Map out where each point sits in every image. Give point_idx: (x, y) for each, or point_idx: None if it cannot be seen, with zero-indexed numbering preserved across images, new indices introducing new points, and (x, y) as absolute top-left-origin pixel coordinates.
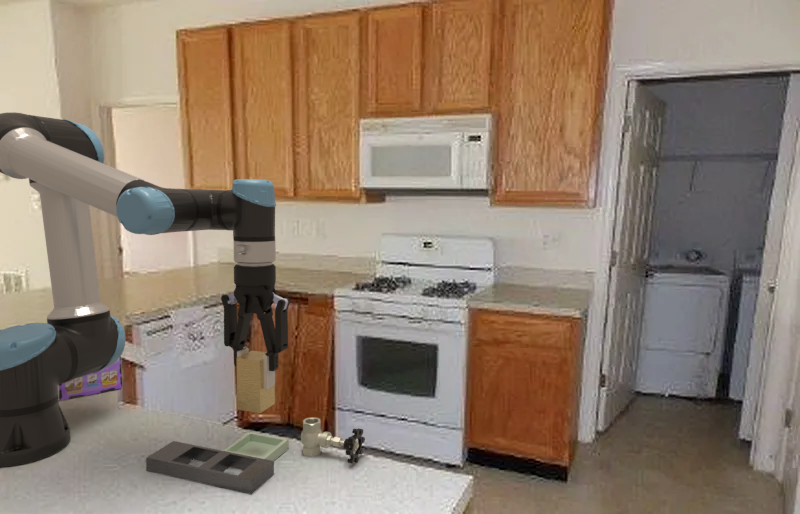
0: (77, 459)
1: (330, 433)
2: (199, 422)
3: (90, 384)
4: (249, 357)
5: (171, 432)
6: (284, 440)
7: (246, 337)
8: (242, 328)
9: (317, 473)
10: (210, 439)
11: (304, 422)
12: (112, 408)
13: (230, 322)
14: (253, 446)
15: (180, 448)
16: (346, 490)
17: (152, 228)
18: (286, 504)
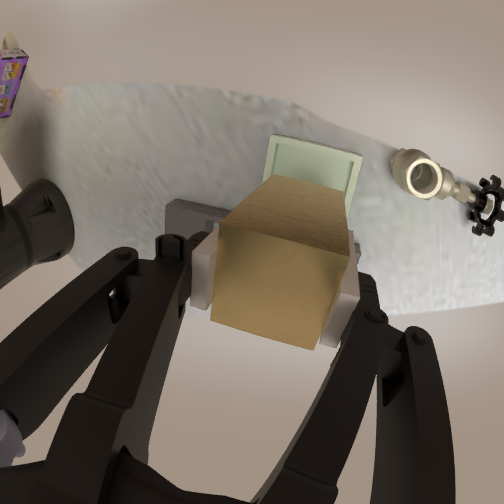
0: (95, 231)
1: (452, 180)
2: (151, 88)
3: (7, 90)
4: (256, 318)
5: (133, 135)
6: (356, 163)
7: (175, 292)
8: (161, 387)
9: (424, 236)
10: (201, 141)
11: (410, 189)
12: (44, 104)
13: (80, 367)
14: (294, 164)
15: (190, 227)
16: (459, 276)
17: None
18: (389, 310)
